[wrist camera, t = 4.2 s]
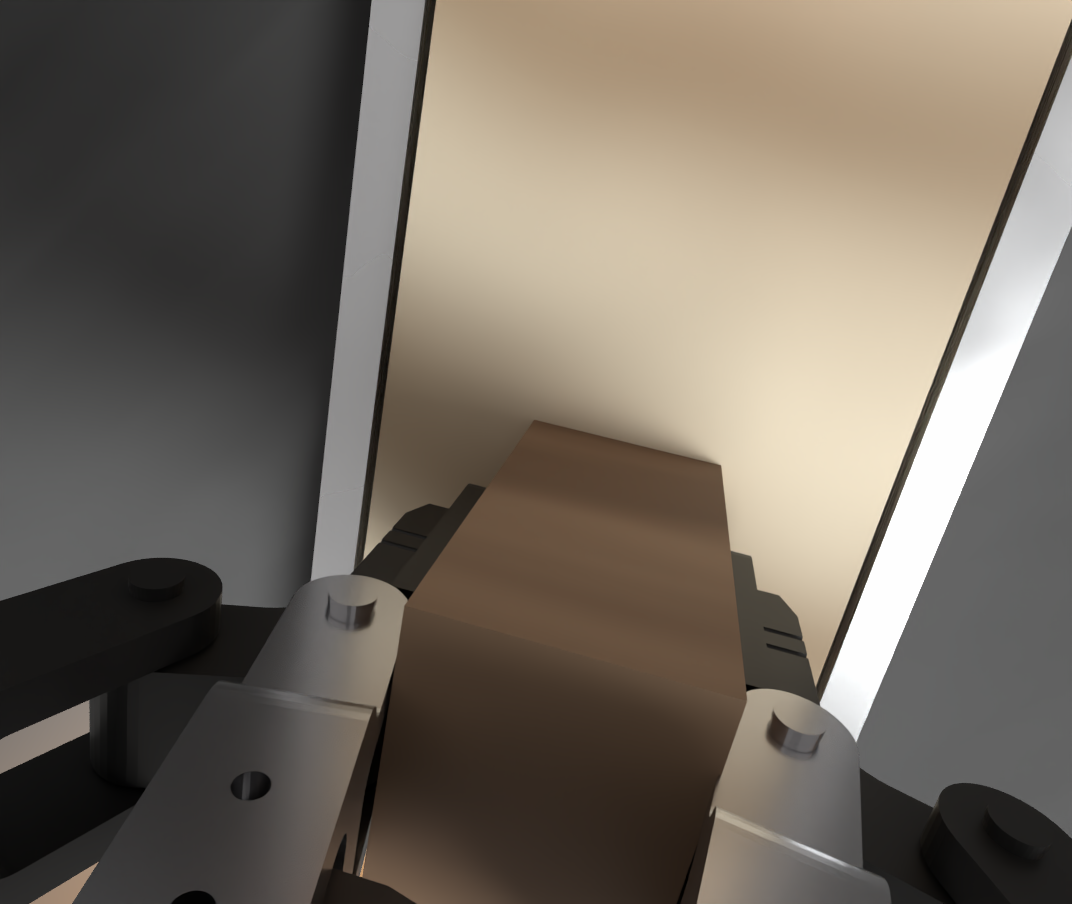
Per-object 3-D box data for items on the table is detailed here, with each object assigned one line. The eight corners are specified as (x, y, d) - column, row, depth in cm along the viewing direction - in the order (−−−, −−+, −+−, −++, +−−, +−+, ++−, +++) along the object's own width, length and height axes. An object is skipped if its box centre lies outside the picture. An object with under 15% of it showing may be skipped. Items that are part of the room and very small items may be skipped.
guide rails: (510, -915, 9) (484, -1072, 8) (1473, -873, 8) (1605, -1050, 7) (326, 655, 17) (299, 688, 15) (806, 794, 15) (814, 841, 14)
